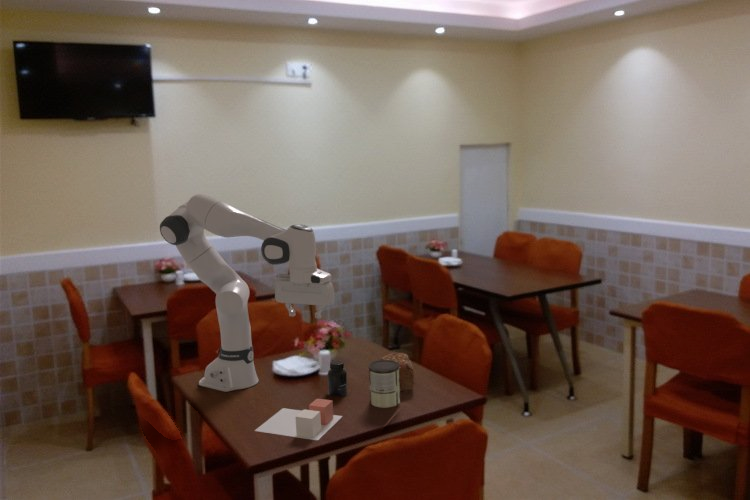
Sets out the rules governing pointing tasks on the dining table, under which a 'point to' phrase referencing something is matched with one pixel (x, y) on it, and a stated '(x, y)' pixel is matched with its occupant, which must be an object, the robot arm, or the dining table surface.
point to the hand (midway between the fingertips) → (305, 316)
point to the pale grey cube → (308, 423)
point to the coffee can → (384, 383)
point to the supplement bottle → (337, 379)
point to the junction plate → (291, 424)
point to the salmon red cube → (323, 409)
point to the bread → (403, 370)
